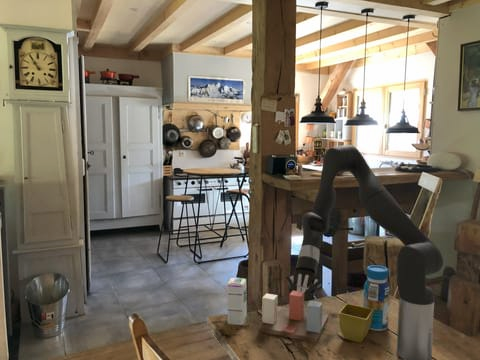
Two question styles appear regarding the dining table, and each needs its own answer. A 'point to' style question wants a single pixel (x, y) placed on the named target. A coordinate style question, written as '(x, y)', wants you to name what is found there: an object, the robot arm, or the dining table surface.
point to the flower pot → (355, 321)
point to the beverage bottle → (377, 296)
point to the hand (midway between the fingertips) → (298, 304)
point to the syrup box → (236, 301)
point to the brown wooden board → (292, 326)
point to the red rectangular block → (296, 305)
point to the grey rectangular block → (314, 316)
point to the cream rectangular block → (269, 308)
